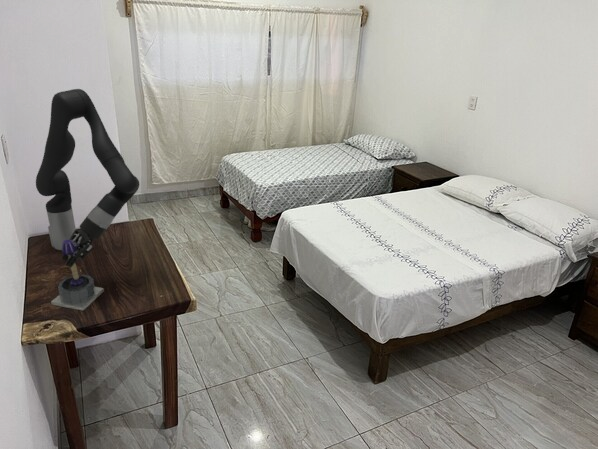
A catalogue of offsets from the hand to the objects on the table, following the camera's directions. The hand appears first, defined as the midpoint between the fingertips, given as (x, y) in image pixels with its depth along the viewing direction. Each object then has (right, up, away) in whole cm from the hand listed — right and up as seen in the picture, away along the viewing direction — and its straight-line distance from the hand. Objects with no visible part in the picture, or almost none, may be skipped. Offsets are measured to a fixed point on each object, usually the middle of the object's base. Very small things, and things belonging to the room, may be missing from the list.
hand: (65, 262), depth 145 cm
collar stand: (0, -13, +8) cm, 15 cm away
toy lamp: (+1, -8, +5) cm, 10 cm away
